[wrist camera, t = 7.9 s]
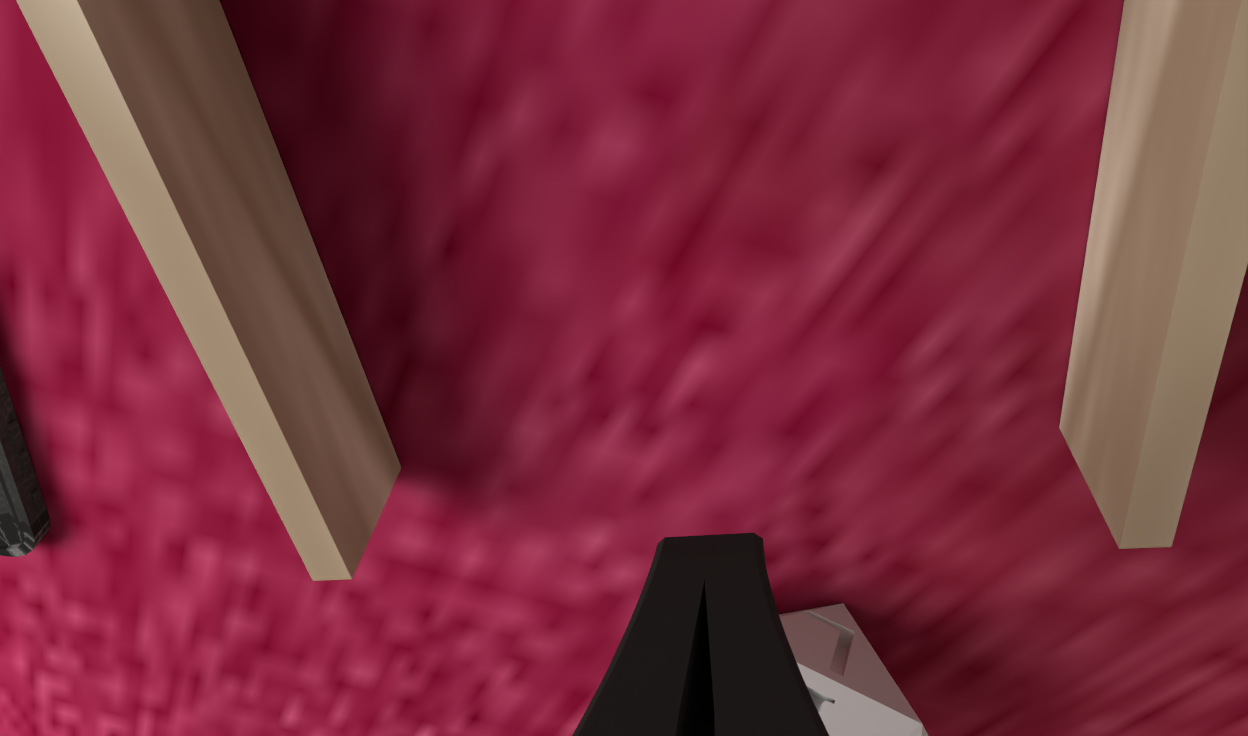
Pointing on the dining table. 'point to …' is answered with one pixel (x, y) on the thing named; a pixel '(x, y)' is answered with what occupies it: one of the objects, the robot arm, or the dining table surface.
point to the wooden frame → (333, 375)
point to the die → (847, 676)
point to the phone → (18, 487)
